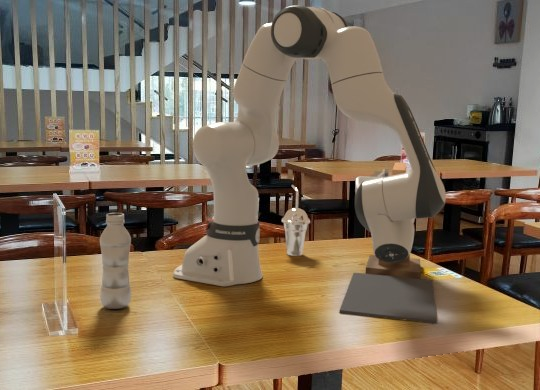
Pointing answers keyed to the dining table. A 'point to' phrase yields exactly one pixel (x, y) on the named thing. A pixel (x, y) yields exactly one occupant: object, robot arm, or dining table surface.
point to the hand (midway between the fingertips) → (399, 172)
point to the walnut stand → (397, 269)
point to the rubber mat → (390, 297)
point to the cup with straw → (295, 228)
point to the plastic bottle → (115, 263)
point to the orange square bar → (399, 168)
